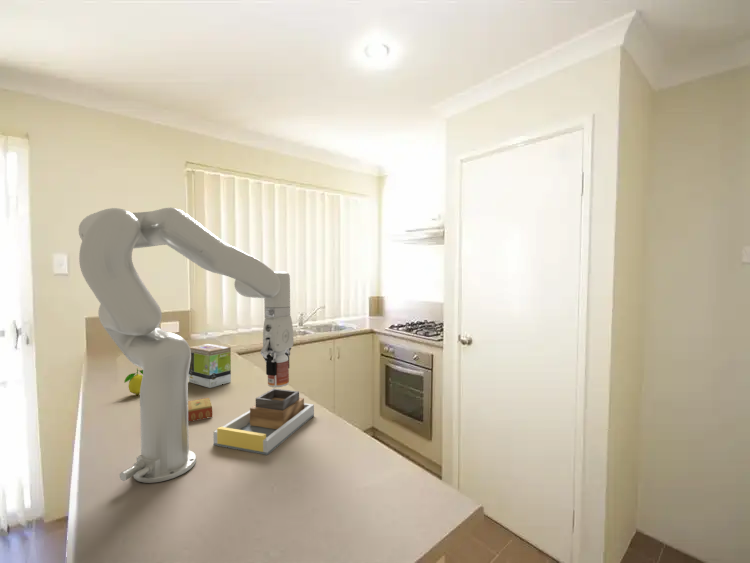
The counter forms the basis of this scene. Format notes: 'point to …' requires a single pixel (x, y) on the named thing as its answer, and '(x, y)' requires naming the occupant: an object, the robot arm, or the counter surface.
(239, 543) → the counter surface
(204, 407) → the carton
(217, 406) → the counter surface
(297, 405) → the box
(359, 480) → the counter surface
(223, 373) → the tea box
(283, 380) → the pill bottle
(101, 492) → the counter surface
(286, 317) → the robot arm
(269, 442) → the bay
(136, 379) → the lemon
